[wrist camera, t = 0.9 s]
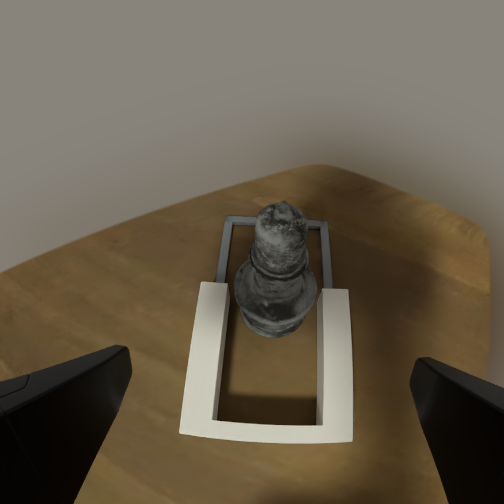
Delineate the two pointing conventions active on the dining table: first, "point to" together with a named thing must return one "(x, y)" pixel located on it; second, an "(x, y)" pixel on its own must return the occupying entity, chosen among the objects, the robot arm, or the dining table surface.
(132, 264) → the dining table surface
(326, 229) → the frame
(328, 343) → the u-shaped bracket
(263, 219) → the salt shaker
